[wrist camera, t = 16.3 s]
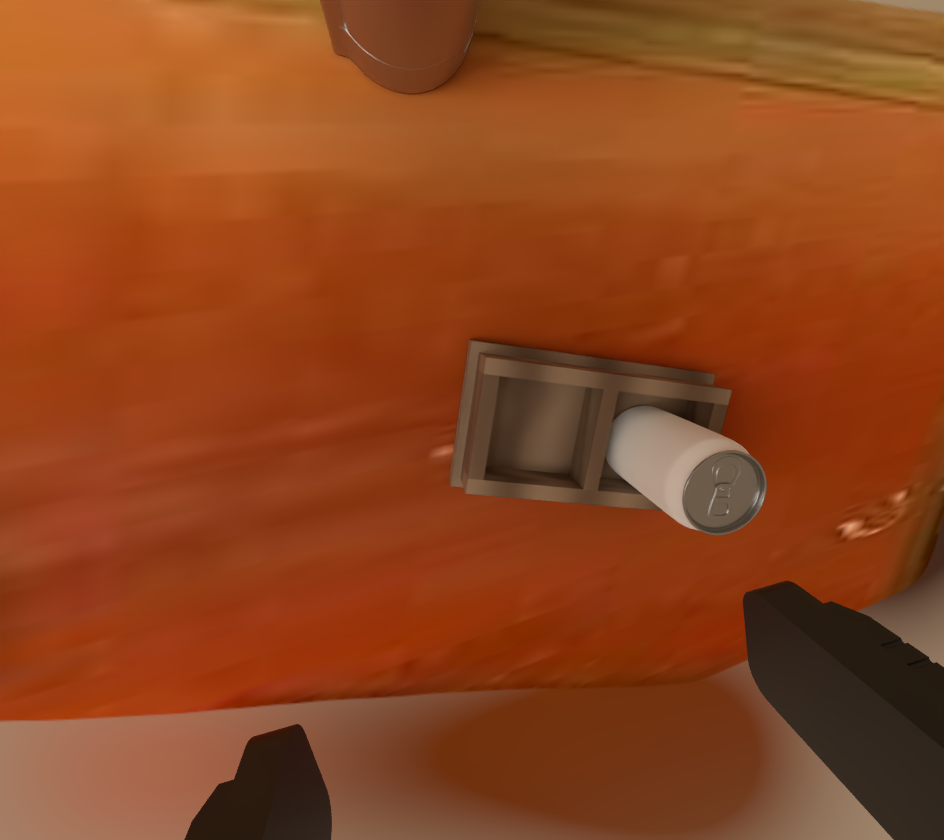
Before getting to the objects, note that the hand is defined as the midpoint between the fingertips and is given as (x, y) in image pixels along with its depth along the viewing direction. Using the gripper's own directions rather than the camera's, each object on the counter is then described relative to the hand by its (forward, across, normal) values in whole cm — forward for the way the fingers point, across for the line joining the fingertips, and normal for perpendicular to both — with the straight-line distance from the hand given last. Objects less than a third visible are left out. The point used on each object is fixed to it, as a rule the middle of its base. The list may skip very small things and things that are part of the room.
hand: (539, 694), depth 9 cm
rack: (+33, +11, -6) cm, 36 cm away
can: (+32, +16, -9) cm, 37 cm away
